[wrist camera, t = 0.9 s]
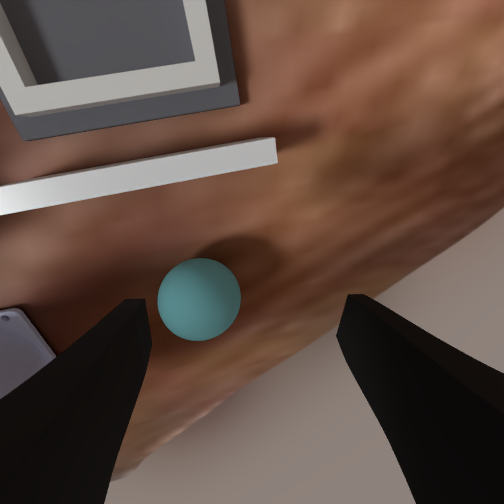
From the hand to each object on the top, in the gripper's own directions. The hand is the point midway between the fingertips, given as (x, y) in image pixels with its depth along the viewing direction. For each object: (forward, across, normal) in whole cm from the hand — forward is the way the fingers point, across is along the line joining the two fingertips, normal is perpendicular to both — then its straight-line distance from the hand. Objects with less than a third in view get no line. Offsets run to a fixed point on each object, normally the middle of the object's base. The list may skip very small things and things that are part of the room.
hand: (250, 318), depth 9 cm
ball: (+7, +2, +4) cm, 9 cm away
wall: (+10, +5, -4) cm, 12 cm away
